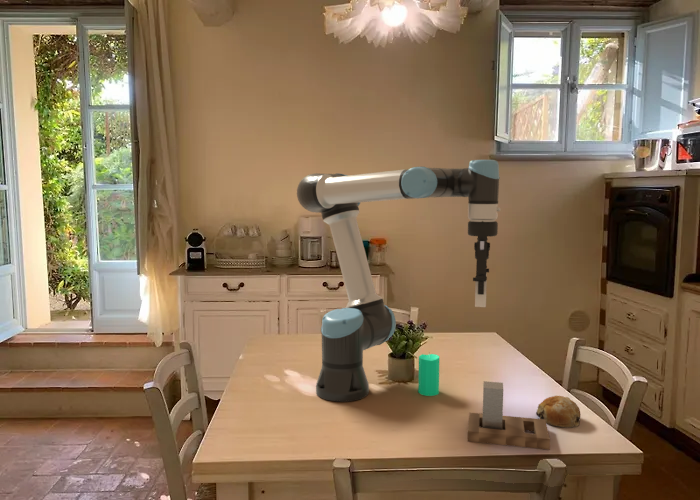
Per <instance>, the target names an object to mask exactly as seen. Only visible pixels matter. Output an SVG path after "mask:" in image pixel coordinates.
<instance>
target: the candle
mask: <svg viewBox="0 0 700 500" xmlns="http://www.w3.org/2000/svg"><path fill="white" fill-rule="evenodd" d="M417 377H418V381H417V383H418V384H417V385H418V387H417V389H418V390H417V391H418V392H417V393H418V394H420V395H422V396H428V397H432V396H438V395H439V394H440V356H439V355H438V354H435V353H428V354H424V353H422V354H420V355H419V356H418V376H417Z"/></svg>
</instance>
